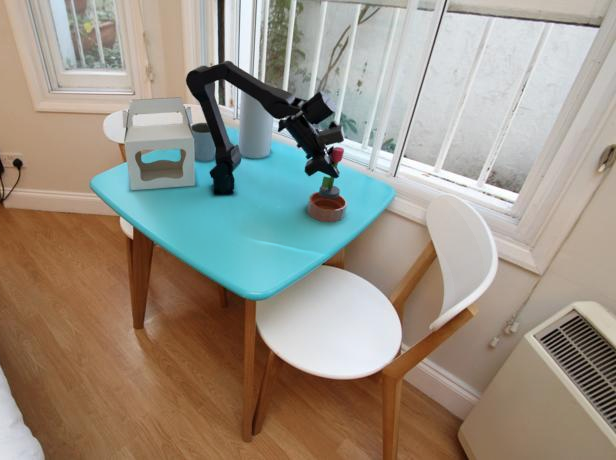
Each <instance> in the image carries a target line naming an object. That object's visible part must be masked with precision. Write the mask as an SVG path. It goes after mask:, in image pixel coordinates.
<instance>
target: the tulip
mask: <svg viewBox="0 0 616 460" xmlns="http://www.w3.org/2000/svg"><path fill="white" fill-rule="evenodd" d="M344 153H345V149H344V148H343V147H340V146H334V148H333V152H332V161H333V165H334V167H335V169H336V170H337V168H338V165H339V163H340V162H341V161H342V160H343V157H344ZM334 183H335V178H334V177H331V176H323V178H322V182H321V186H320V187H319V190H318V192H319V194H320V195H321V196H322V197H324V198H328V199H334V198H337V197H338V196H339V195H340V192H341V190H340V188H339V187H337V186H335V185H334Z"/></svg>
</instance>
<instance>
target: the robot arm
mask: <svg viewBox="0 0 616 460" xmlns="http://www.w3.org/2000/svg"><path fill="white" fill-rule="evenodd" d="M220 80H224V81H225V82H227V83H229V84H231V85H232V86H233V87H235V88H237V89H239V91H241V90H242V91H243V92H245V93H246V94H248V95H250V96H251V97H253V98H254V99H256V100H257V101H259V102H260V103H261V105H262V106H263V108H264V109H265V110H266V111H267V112H268V113H269V114H270V115H271V116H272V117H274V119H275V120H279V121H278V122H277V123H278V127H277V132H278V133H281V132H282V131H283V130H286V131H287V132H288V133H289V135H290V136H291V137H292V139H293V140H294V141H295V142H296V147H297V149H300V148H301V150H302V151H303V152H304V153H305V158H306V160H307V161H306V163H305V166H304V173H305V174H306V175H307V177H311V176H313V175H315V174H316V173H318V172H320V173H322V174H325V175H327V176H328V177H330V176H331V177H334V179H338V178H339V177H340V170H339V168H338V167H337V170H336V169H335V167H334V165H333V161H332V152H333V148H335V146H334V144H341V143H342V142H344V141H345V137H346V136H345V135H346V134H345V131H344V126H343V125H342V123H339V122H337V121H336V120H333V121H330V122H329V124H328V127H326V128H324V129H323V130H321V129H320V128H319V127H314V126H313V125H319V124H321V123H322V122H324V121H325V120H327V119H328V118H329V117H331V116H332V115H334V114H335V113H337V112H338V111H337V110H338V109H337V105H336V103H335V101H334V100H333V98H332V97H331V96H329V95H328V94H326V93H324V92H323V90H322V89H319V90H318V91H316V93H315V94H314V95H313V96H312V97H310V98H309V99H308V100H307V99H303V98H301V97H297V96H295V95H294V94H293V93H291V92H290V91H287V90H285V89H282V88H280V87H279V88H278V87H277V88H275V87H270V86H268V85H266V84H265V83H266V82H263V81H261V80H260V79H258V77H257V78H256V77H255V76H253V75H252V74H250V73H249V72H247V71H246V70H244V69H242V68H240V67H239V66H237V65H236V64H234V62H233V61H231V60H225V61H223V62H221V63H216V64H214V65H211V66H207V65H200V66H198V67H196V68H194V69H192V70H190V71H189V72H187V74H186V77H185V84H186V86H187V88H188V90H189V92H190V94H191V96H192V97H194V99H195V100H196V101H197V102H198V103H199V106H200V108H201V111H202V114H203V116H204V119H205V123H207V125H208V128H209V131H210V134H211V136H212V139H213V142H214V145H215V157H214V160H215V165H214V167H212V169H210V170H209V172H208V173H209V176H210V178H211V179H212V184H211V188H212V193H213V196H229V195H234V190H235V176H234V173H233V172H235V171H236V169H237V168H238V167H239V166H240V165H241V163H242V157H243V156H242V154H241V153H240V150H239V146H238V144H236V145H234V144H233V143H232V142H231V141H230V138H229V134H228V131H227V128H226V126H225V122H224V119H223V117H222V114H221V111H220V107H219V105H218V102H217V99H216V82H217V81H220ZM330 145H333V146H331V147H329V146H330Z"/></svg>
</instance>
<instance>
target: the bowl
mask: <svg viewBox="0 0 616 460" xmlns="http://www.w3.org/2000/svg"><path fill="white" fill-rule="evenodd" d="M347 207H348V200H346V198H345V197H344V196H342V195H341V194H339V196H338V197H337V198H334V199H328V198H324V197H322V196H321V195H320V194H319V191H316V192H313V193H312V194H310V196H309V198H308V203H307V209H306V211H307V214H308V215H309V216H310V217H311V218H313V219H315V220H316V221H320V222H324V223H336V222H339V221H341V220H342V219H343V218H344V217H345V214H346V210H347Z"/></svg>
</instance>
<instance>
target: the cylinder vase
mask: <svg viewBox="0 0 616 460" xmlns="http://www.w3.org/2000/svg"><path fill="white" fill-rule="evenodd" d="M264 83H265V84H266V85H268V86H270V87H275V88H278V87H277V86H276V85H275V84H272V83H268V82H264ZM274 120H275V118H274V117H272V116H271V115H270V114H269V113H268V112H267V111H266V110H265V109H264V108H263V106H262V105H261V103H260V102H259V101H257V100H256V99H254V98H253V97H251V96H250V95H248V94H246V93H245V92H243V91H242V90H240V103H239V122H238V123H239V125H238V144H237V145H238V146H239V150H240V153H241V154H242V157H243V158H247V159H254V160H255V159H256V160H257V159H258V160H259V159H264V158H267V156H269V155H270V153H271V147H272V137H273V127H274Z"/></svg>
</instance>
